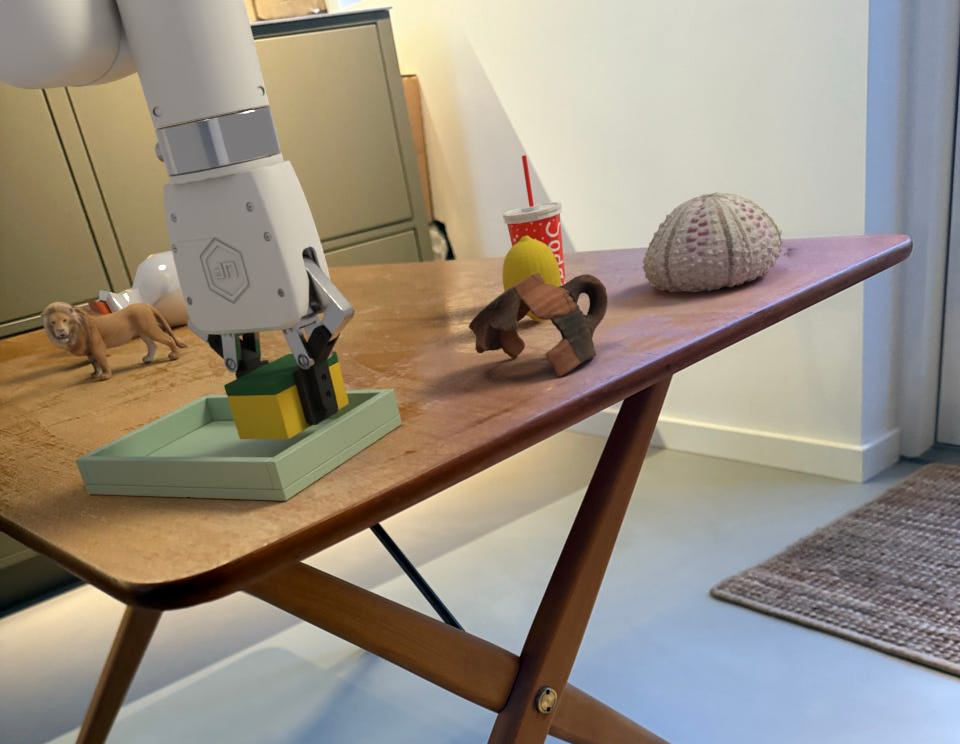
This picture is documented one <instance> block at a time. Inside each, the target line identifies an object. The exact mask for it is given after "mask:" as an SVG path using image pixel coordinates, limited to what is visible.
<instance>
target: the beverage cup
mask: <svg viewBox="0 0 960 744" xmlns="http://www.w3.org/2000/svg"><path fill="white" fill-rule="evenodd" d="M521 161H522V167H523V174H524V181H525V187H526V195H527V201H528V205H526V206H522V207H518V208H514V209H512V210H508V211H505V212H504V213H503V214H502V217H503V220H504V224H506V226H507V230H508V233H509V238H510V239H509V240H510V242H511V248H512V247H513V246H514V245H515V244H516V243H518V242H519V241H520V239H521V238H522V237H524V236H529V237H530V238H531V239H534V240H538V241H540V242H542V243H544V244H545V245H547V246H548V247H549V248H550V249H551V251H552V252H553V254H554V256H555V258H556V261H557V263H558V266H559V270H560V275H561V286H562V285H564V284H566V283H567V282H566V272H565V270H566V269H565V260H564V258H565V257H564V249H563V248H564V247H563V246H564V245H563V237H562V236H563V235H562V222H561V213H563V210H562V202H560V201H550V202H543V203H542V202H541V203H534V198H533V190H532V184H531V177H530V170H529V164H528V158H527V154H525V155H522V156H521Z"/></svg>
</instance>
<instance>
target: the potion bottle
mask: <svg viewBox="0 0 960 744" xmlns="http://www.w3.org/2000/svg"><path fill="white" fill-rule="evenodd" d="M98 294H99V295H98V300H92V299H86V301H87V304H88V306H89V309H90V310H92V311H94V312H96V313H101V314H103V315H107V314H111V313H114V312H117V311H119V310H121V309H123V308H125V307H127V306H128V305H130V304H133V303H144V304H148V305H150V306H152V307H154V308H155V309H156V310H157V311H159V313H160V314H161V315H162V316H163V317H164V319H165V320H166V322H167V323H168V325H169V327H170V328H171V329H172V328H175V327H181V326H188V318H189V314H188V311H187V308H186V305H185V301H184V298H183V294H182V291H181V287H180V283H179V279H178V275H177V271H176V267H175V262H174V258H173V254H172V250H167V251H166V250H165V251H162V252H161V251H160V252H157V253H151V254H149V255H148V257H146V258H144V260H143V261H142V262H141V263H139V265H138V266H137V268H136V272H135V276H134V279H133V284H132V287H130V288H128V289H127V288H126V289H125V290H122V291H120V292H118V293H115V292H112V291H108V290H102V289H99V293H98ZM155 319H156V322H157V324H160V325H162V324H161V323H160V322H159V320H158V319H157V318H155Z"/></svg>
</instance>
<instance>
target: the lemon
mask: <svg viewBox="0 0 960 744" xmlns="http://www.w3.org/2000/svg"><path fill="white" fill-rule="evenodd" d="M536 273H540V274H541V276H542V278H543V280H544V281H545V283H546V284H550V285H555V286H557V287H559V286H561V275H560V270H559V266H558V263H557V261H556V258H555V256H554V254H553V252H552V251H551V249H550V248H549V247H548V246H547V245H545V244H544V243H542V242H540V241H538V240H534V239H531V238H530V237H529V236H524V237H522V238H521V239H520V241H519V242H518V243H516V244H515V245H514V246H513V247H512V246H511V247H510V249H509V250H508V252H507V253H506V255H505V258H504V259H503V265H502V285H503V290H504V291H503V292H505V291H506V290H508V289H510V288H512V287H513V286H514V285H516V284H517V283H519V282H520V281H522V280H523V279H525V278H527V277H528V276H531V275H533V274H536ZM526 316H527V317H529V318H530V319H531V320H532V321H534V322H537V323H538V322H540V321H541V322H542V319H540V318H538V317H537V316H535V315H533V314H532V313H531V311H529V312H528V313H527V315H526Z"/></svg>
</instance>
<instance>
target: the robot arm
mask: <svg viewBox="0 0 960 744" xmlns="http://www.w3.org/2000/svg"><path fill="white" fill-rule="evenodd" d="M254 39H255V38H254V35H253V31H252V27H251V23H250V18H249V15H248V11H247V7H246V3H245V0H0V82H1V83H3V84H6V85H9V86H12V87H14V88H17V89H18V88H19V89H23V90H24V89H25V90H46V89H47V90H48V89H49V90H50V89H57V88H66V87H70V88H72V87H73V88H74V87H75V88H82V87H90V86H91V87H92V86H99V85H107V84H110V83H114V82H117V81H119V80H122V79H125V78H127V77H129V76H132V75H135V74H137V75H138V79H139V82H140V85H141V89H142V92H143V95H144V98H145V102H146V105H147V107H148V111H149V114H150V118H151V122H152V125H153V127H154V129H155V130H154V132H155V135H156V138H157V142H156V143H155V146H154V150H155V155H156V157H157V159H158V160H159V161H160V162H161V163H163V164H164V166H165V169H166V172H167V175H168V179H169V183H166V184H163V186H162V190H163V191H162V192H163V205H164V206H163V207H164V213H165V221H166V225H167V232H168V238H169V244H170V248H171V249H170V250H171V251H172V254H173V258H174V262H175V267H176V271H177V275H178V279H179V283H180V287H181V291H182V294H183V298H184V301H185V305H186V308H187V311H188V314H189V318H188V324H187V327H188V329H189V331H190V332H191V333H193V334H194V335H195V336H197V337H198V338H200V339H201V340H203V342H205V343H208V345H209V347H210V349H212V350H213V352H215V353H216V354H217V355H218V356H219V357H220V358H221V359H222V360H223V363H224V366H225V369H226V370H227V371H228V372H229V373H231V374H235V375H234V376H235V378H236V379H238V378H240V377H242V376H244V375H246V374H248V373H250V372H252V371H254V370H256V369H258V368H260V367H262V366H264V365H266V364H268V363H270V362H269V359H262V360H261V358H262V349H261V338H260V333H262V332H274V331H275V332H276V331H281V332H282V334H283V336H284V339H285V341H286V343H287V345H288V347H289V349H290V351H291V354H293V356H294V358H295V360H296V362H297V364H298V366H299V367H300V368H299V369H297V370H295V371H293V372H294V378H295V382H296V386H297V390H298V393H299V397H300V401H301V404H302V408H303V412H304V416H305V419H306V422H307V423H308V424H309V425H317V424H319V423H321V422H322V421H324V420H326V419H327V418H329V417H331V416H332V415H334V414H336V413H337V412H338V404H337V400H336V394H335V390H334V386H333V382H332V378H331V374H330V370H329V366H328V362H327V359H328V358H330V357H332V355H333V351H334V347H335V346H336V343H337V341H338V339H339V337H340V335H341V332H342V331H343V330H344V329H345V328H346V327H347V325H348V324H349V323H350V321H351V320H352V319H353V317H354V316H355V308H354V306H353V305H352V304H351V303H350V301H349V300H348V299H347V298H346V297H345V295H344V294H343V293H342V292H341V290H339V289H338V288H337V286H336V285H335V284H334V283H333V282H332V280H331V276H330V272H329V266H328V264H327V260H326V257H325V252H324V248H323V245H322V242H321V239H320V236H319V232H318V230H317V227H316V222H315V220H314V217H313V213H312V211H311V208H310V206H309V203H308V200H307V198H306V195H305V193H304V190H303V188H302V185H301V183H300V181H299V177H298V176H297V174H296V171H295V169H294V167H293V165H292V162H291V161H290V160H289V159H288V160H284V156H283V153H282V149H281V145H280V142H279V137H278V133H277V129H276V125H275V121H274V116H273V113H272V108H271V106H270V101H269V97H268V93H267V88H266V85H265V80H264V76H263V72H262V68H261V64H260V60H259V56H258V52H257V51H258V50H257V48H256V43H255V40H254ZM320 314H323V317H322V319H321V320H320V318H319V315H320ZM302 329H304V331H305V333H306V336H307V338H308V339H306V337H305V335H304V333H303V330H302Z"/></svg>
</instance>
